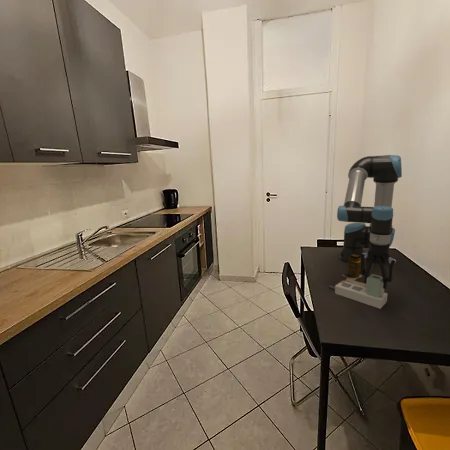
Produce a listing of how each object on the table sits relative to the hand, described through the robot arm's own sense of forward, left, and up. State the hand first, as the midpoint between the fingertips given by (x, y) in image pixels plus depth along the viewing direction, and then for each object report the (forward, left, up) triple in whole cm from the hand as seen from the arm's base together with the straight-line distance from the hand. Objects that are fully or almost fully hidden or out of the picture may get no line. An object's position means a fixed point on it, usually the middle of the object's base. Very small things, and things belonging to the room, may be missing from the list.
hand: (374, 292), depth 116 cm
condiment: (-21, -18, -5) cm, 28 cm away
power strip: (0, -8, -5) cm, 10 cm away
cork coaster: (-10, -13, -5) cm, 17 cm away
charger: (0, 0, -3) cm, 3 cm away
